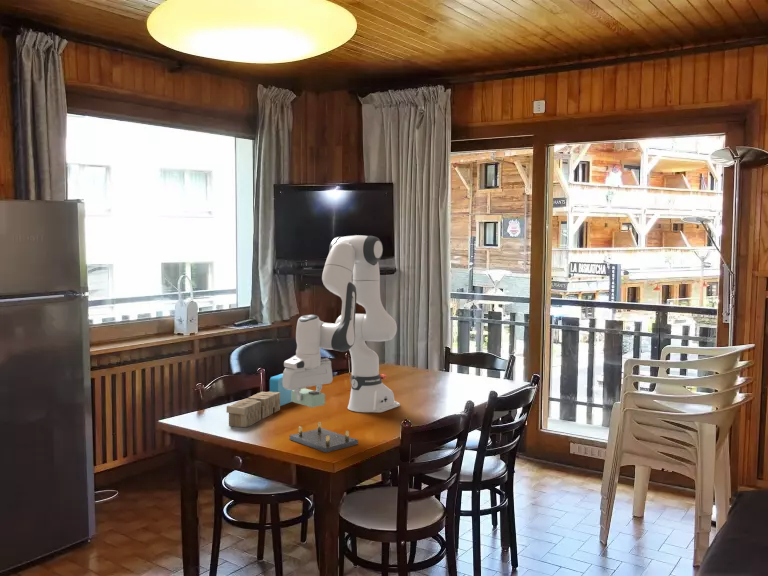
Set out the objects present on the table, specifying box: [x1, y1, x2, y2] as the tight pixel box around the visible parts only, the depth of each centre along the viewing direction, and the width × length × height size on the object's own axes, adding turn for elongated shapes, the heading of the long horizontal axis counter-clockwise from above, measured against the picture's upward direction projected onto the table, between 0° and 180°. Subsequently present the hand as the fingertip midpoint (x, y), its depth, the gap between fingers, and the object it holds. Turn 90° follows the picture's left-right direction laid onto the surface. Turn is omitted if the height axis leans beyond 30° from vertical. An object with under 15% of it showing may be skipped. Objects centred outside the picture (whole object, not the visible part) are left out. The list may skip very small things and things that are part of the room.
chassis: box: [289, 421, 359, 453], centre depth 245 cm, size 14×20×4 cm
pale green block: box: [290, 387, 326, 408], centre depth 256 cm, size 6×12×5 cm, turn 43°
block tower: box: [226, 391, 281, 428], centre depth 276 cm, size 8×8×29 cm
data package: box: [269, 373, 294, 407], centre depth 300 cm, size 12×4×12 cm, turn 155°
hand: (308, 398), depth 256 cm, fingers closed on pale green block, 6 cm apart
